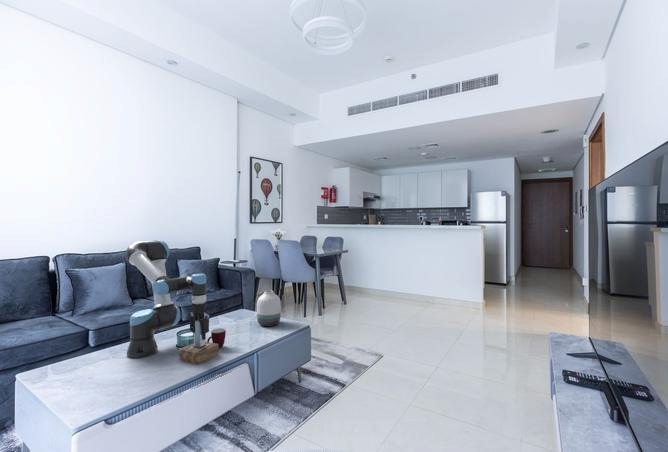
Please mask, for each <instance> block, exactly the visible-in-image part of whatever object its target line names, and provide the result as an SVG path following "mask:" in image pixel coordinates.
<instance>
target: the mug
mask: <svg viewBox="0 0 668 452" xmlns="http://www.w3.org/2000/svg"><path fill="white" fill-rule="evenodd" d="M210 332H211V333H210V335H211V336H209V337H208V338H207V341H206V342H210V340H211V343H216V344H219V349H222V348H223V347H224V344H225V340H226V334H227V333H226V328H222V327H221V328H214V329H212V330H211V331H210Z"/></svg>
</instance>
